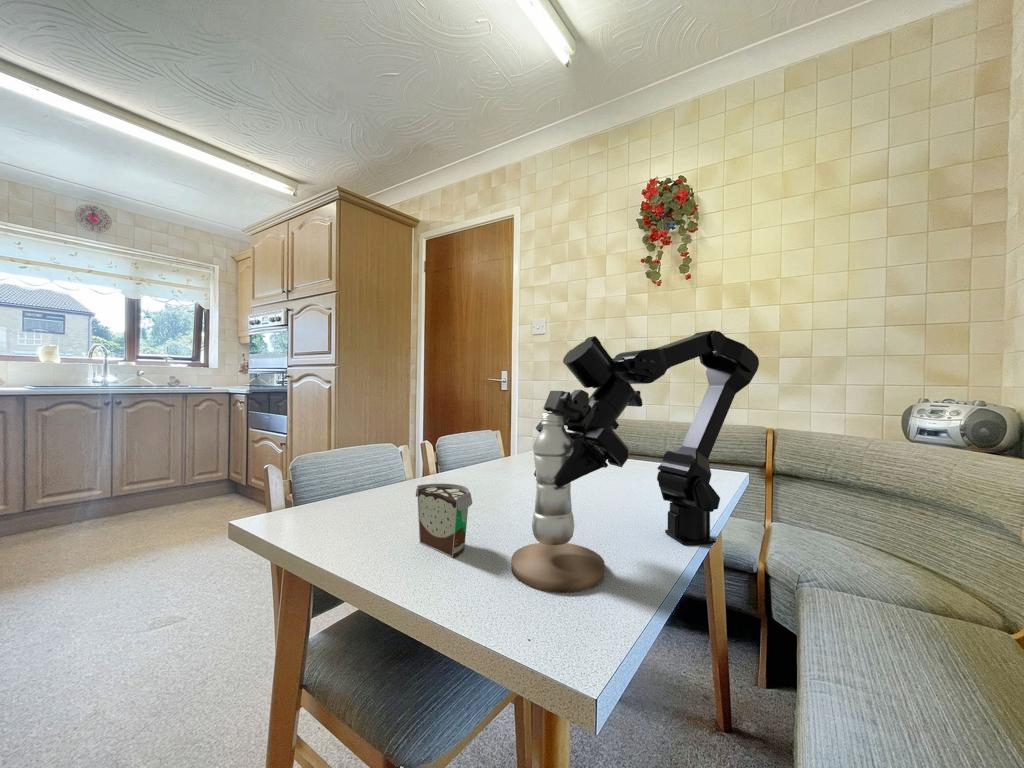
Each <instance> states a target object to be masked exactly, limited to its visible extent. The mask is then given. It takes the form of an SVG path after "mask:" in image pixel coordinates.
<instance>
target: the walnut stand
mask: <svg viewBox="0 0 1024 768" xmlns="http://www.w3.org/2000/svg"><path fill="white" fill-rule="evenodd" d="M605 563H606V562H605V560H604V558H602V556H601V555H600V554H599V553H597V552H596V551H594V550H592V549H590V548H588V547H586V546H582V545H579V544H574V543H569V542H568V543H565V544H561V545H547V544H543V543H540V542H535V543H531V544H528V545H525V546H522V547H519V548H518V549H516V550H515V551H514V552H513V554H512V555H511V567H510V570H511V574H512V575H513V577H514V578H515V579H516V580H517V581H519V582H520V583H522V584H524V585H525V586H528V587H530V588H533V589H536V590H540V591H544V592H550V593H577V592H583V591H586V590H587V591H588V590H590V589H593V588H594V587H596V586H598V585H599V584H601V583H602V582H603V581H604V579H605V574H606V573H605V572H606V571H605V570H606V569H605V568H606V567H605Z"/></svg>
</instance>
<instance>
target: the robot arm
mask: <svg viewBox="0 0 1024 768" xmlns="http://www.w3.org/2000/svg"><path fill="white" fill-rule="evenodd" d="M696 358H699V362H700V364H701V365H703V366H704V367H705V368H706V371H705V373H706V374H705V375H706V378H707V383H708V385H707V388H706V391H705V393H704V394H703V398H702V400H701V402H700V404H699V407H698V408H697V411H696V412H695V416H694V418H693V420H692V422H691V424H690V426H689V429H688V430H687V431H688V432H687V433H686V436H685V438H684V440H683V442H682V445H681V446H680V448H678V449H677V450H676V451H672V450H667V451H666V452H665V453H664V454H663V458H662V461H661V462H660V464H659V465H658V467H657V468H656V469H657V470H658V473H657V476H656V480H657V482H658V487H659V489H660V492H661V495H662V496H661V497H662V499H663V501H666V502H669V510H668V511H667V529H665V530H664V533H665V534H667V535H668V536H670V537H671V538H672V539H674V540H676V541H678V542H679V543H681V544H682V545H685V546H686V545H700V544H701V545H702V544H703V545H704V544H714V543H715V544H716V543H717V540H716V539H715V538H714V537H711V513H712V512H715V511H714V510H718V509H719V505H720V501H721V497H720V495H719V494H718V493H717V492H716V490H715V489H714V487H712V485H711V484H710V483H711V482H710V481H711V477H712V470H711V467H710V461H709V458H710V456H711V453H712V451H713V448H714V446H715V444H716V440H717V439H718V436H719V434H720V432H721V429H722V427H723V425H724V422H725V419H726V417H727V415H728V413H729V410H730V408H731V405H732V403H733V402H734V398H735V396H736V395H737V393H739V392H740V391H741V390H743V389H744V388H746V387H747V386H748V385H750V383H751V382H752V380H753V379H754V376H755V375H756V373H757V372H758V368H759V365H760V359H759V356H758V355H757V354H756V353H755V352H754V351H753V350H752V349H750V348H749V347H748V346H747V345H746V344H744V343H742V342H739V341H737V340H734V339H732V338H730V337H727V336H725V334H723V333H722V332H721V331H719V330H713V329H711V330H707V331H701V332H700V331H698V332H696V333H694V334H693V335H691V336H688V337H685V338H682V339H679V340H676V341H672V342H670V343H667V344H664V345H661V346H659V347H655V348H649V349H642V350H641V349H639V350H632V351H625V352H624V351H623V352H619V353H618V354H616V355H615V357H614V358H612V357H611V355H610V354H609V352H608V351H607V350H606V349H605V348H604V346H603V345H602V343H601V341H600V339H599V338H598V337H597V336H596V335H594V336H589V337H587V338H586V339H585V340H584V341H583V342H580V343H579V344H577V345H575V347H573V348H572V349H569V350H568V351H567V353H566V354H565V355H564V357H563V359H562V363H563V364H564V365H565V366H566V368H568V370H569V371H570V372H571V373H572V375H573V376H574V377H575V378H576V380H577V381H578V382H579V383H580V384H581V386H582V387H583V388H585V389H586V388H587V389H588V388H592V389H595V390H594V391H593V392H592V394H590V395H589V393H588V392H587V391H585V390H583V389H575V390H573V391H572V392H569V391H565V390H550V391H549V393H548V396H547V398H546V401H545V403H544V406H543V410H545V411H546V412H547V413H561V414H564V413H565V422H566V425H565V426H566V427H567V428H566V427H564V429H565V430H566V432H567V433H568V434H569V436H570V437H571V439H572V441H573V443H574V445H573V453H572V454H571V456H570V457H569V459H568V460H567V462H566V464H565V465H564V467H563V468H562V470H561V471H560V473H559V474H558V476H557V478H556V480H555V482H554V484H555V485H556V486H557V487H559V488H560V487H562V486H564V485H566V484H568V483H572V482H575V480H579V479H580V478H582V477H585V476H586V475H589V474H591V473H593V472H596V471H597V470H600V469H603V468H604V469H606V468H607V467H609V465H610V466H611V465H612V466H615V467H619V468H623V467H624V465H625V464H626V462H627V461H628V460H629V458H630V456H629V455H630V454H629V451H630V450H629V449H630V448H629V447H628V446H627V445H626V443H625V442H624V441H623V440H622V439H621V438H620V436H619V435H618V434H617V433H616V431H615V430H617V428H618V427H620V424H619V423H618V421H617V420H618V418H620V416H621V415H622V413H623V412H624V411H625V409H626V408H627V407H638V408H639V407H640V408H641V407H643V399H642V397H641V390H635V388H634V387H633V386H632V385H645V384H646V385H647V384H651V383H652V384H653V382H655V381H657V380H659V379H660V378H661V377H663V376H664V375H665V374H666V372H667V371H668V370H669V369H671V368H672V367H675V366H677V365H681V364H683V363H685V362H687V361H688V362H689V361H690V360H694V359H696ZM541 422H542V420H541V421H540V422H538V424H537V425H536V426H535V429H536V431H537V432H538V434H539V433H540V432H541V431H542V429H543V425H541ZM607 462H608V463H607ZM533 475H534V477H535V478H536V469H535V470H534V473H533Z"/></svg>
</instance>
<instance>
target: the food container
mask: <svg viewBox="0 0 1024 768" xmlns="http://www.w3.org/2000/svg"><path fill="white" fill-rule="evenodd" d="M416 486H417V488H416V490H415V497H417V512H418V513H417V514H418V517H417V518H418V535H419V536H418V538H419V544H421V545H423V546H425V547H427V548H429V549H432V550H433V551H435V552H438V553H440V554H443V555H445V556H447V557H448V558H451V559H455V558H457V557H459V556H460V555H462V554H463V553H464V550H465V549H466V548H465V547H466V545H465V544H466V536H467V535H466V533H467V526H468V525H467V524H468V513H469V508H470V507H471V506H472V505H473V500H472V499H473V498H472V494H471V492H470V489H469V488H468V487H466V486H464V485H461V484H454V483H443V482H442V483H426V484H418V485H416Z"/></svg>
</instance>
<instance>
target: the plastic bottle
mask: <svg viewBox="0 0 1024 768" xmlns="http://www.w3.org/2000/svg"><path fill="white" fill-rule="evenodd" d="M541 421H542V422H541ZM541 421H540V422H541V425H543V429H542V431H541V432H540V433H539V432H538V434H537V437H536V438H535V440H534V443H533V445H532V451H533V461H534V467H535V470H536V477H535V481H536V484H535V485H536V489H535V490H536V492H535V502H534V504H535V505H534V511H533V516H532V521H531V529H532V535H533V537H534V538H535V540H536V541H537V543H543V544H547V545H561V544H565V543H569V542H570V541H571V540H572V538H573V537H574V532H575V517H574V513H573V508H572V507H573V505H572V494H571V493H572V492H571V491H572V490H571V489H572V484H571V483H572V482H570V483H568V484H566V485H564V486H562V487H560V488H559V487H557V486H556V485H555V484H554V482H555V480H556V478H557V476H558V474H559V473H560V471H561V470H562V468H563V467H564V465H565V464H566V462H567V460H568V459H569V457H570V456H571V454H572V453H573V445H574V443H573V441H572V439H571V437H570V436H569V434H568V433H567V432H566V430H567V429H566V428H565V426H566V422H565V413H564V414H561V413H553V412H542V413H541ZM564 428H565V429H566V430H565V429H564Z"/></svg>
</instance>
